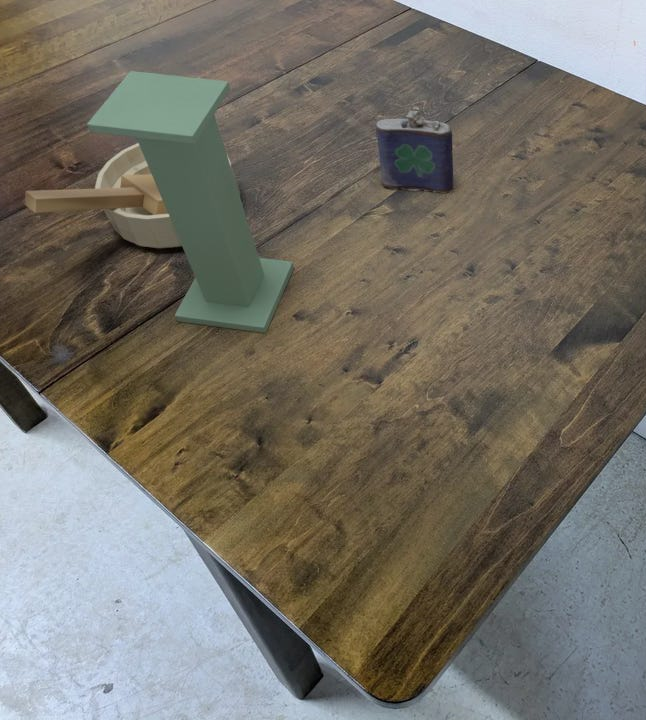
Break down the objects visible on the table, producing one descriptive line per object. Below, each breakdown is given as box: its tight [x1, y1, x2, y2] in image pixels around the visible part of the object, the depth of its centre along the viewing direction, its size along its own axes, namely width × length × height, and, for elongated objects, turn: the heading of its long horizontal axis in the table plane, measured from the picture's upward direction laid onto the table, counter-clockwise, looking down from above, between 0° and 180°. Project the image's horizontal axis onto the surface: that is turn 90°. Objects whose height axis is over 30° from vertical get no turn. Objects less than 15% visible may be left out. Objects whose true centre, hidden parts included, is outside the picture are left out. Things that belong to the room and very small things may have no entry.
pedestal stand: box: [86, 70, 295, 334], centre depth 71 cm, size 10×10×25 cm
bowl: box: [94, 142, 241, 249], centre depth 87 cm, size 15×15×6 cm
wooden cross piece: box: [24, 175, 168, 215], centre depth 81 cm, size 7×18×2 cm, turn 141°
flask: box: [375, 106, 454, 194], centre depth 89 cm, size 9×3×11 cm, turn 84°
